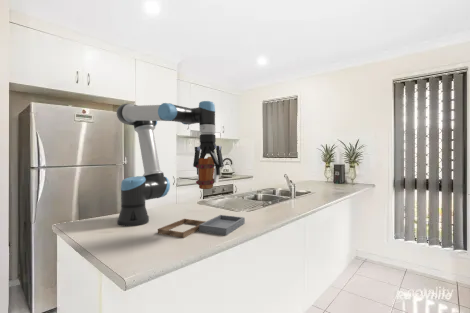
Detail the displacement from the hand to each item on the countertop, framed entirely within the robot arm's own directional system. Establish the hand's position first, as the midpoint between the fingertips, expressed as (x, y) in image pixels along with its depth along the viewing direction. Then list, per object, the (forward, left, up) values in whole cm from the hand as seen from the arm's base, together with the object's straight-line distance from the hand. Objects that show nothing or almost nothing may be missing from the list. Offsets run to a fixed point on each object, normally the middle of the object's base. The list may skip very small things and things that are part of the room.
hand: (208, 181), depth 120 cm
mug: (0, 0, -3) cm, 3 cm away
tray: (+5, +5, -22) cm, 23 cm away
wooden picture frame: (-10, -6, -22) cm, 25 cm away
